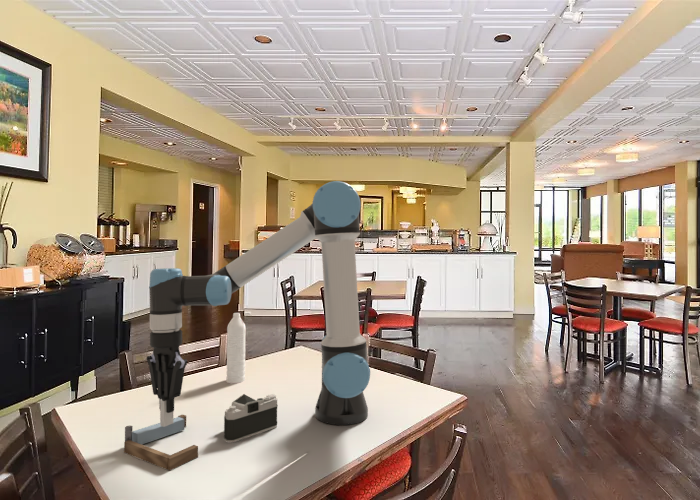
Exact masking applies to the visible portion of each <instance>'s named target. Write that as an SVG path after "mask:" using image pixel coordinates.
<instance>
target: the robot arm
mask: <svg viewBox="0 0 700 500" xmlns="http://www.w3.org/2000/svg"><path fill="white" fill-rule="evenodd" d="M361 205H362V204H361V198H360V196H359V194H358V192H357V191H356V189H355V188H354V187H353V186H352V185H350V184H348V183H347V182H344V181H339V180H335V181H329V182H327V183H324V184H323V185H321V186H320V187H319V188H318V189H317V190H316V192H315V193H314V195H313V199H312V203H311V204H310V205H309V206H308V207H307V208H304V209H303V210H301V212H300V216H299V217H298V218H296V219H295V220H293V221H291V222H290V223H288V224H287V225H286V226H284V227H282V228H281V229H280V230H278V231H276V232H274V234H272V235H270V236H269V237H267V238H265V239H264V240H263V241H261V242H260V243H258V244H257V245H255V246H254V247H252V248H250V249H249V250H247V251H246V252H244V253H243V254H241V255H240V256H238V257H237V258H235V259H233V260H232V261H231V262H229V263H227V265H225V266H223V267H221V268H220V269H218V270H217V271H214V272H213V273H212V274H207V275H183V271H182V269H181V268H177V267H176V268H173V267H172V268H171V267H170V268H168V267H167V268H154V269H152V270H151V271H150V274H149V286H148V289H149V329H150V331H151V332H150V333H149V346H150V347H151V348H153V350H152V354H150V355H147V356H146V361H147V365H148V368H149V375H150V382H151V387H152V388H151V389H152V394H153V395H154V396H157V399H158V400H159V403H158V404H159V405H158V406H159V412H160V413H159V414H160V415H159V417H160V418H159V419H160V421H159V423H160V426H163V427H165V426H168V425H170V424H173V418H174V412H175V399H176V398H177V397H180V396H181V393H182V387H183V381H184V375H185V368H186V367H187V364H188V360H187V359H186V358H185V359H183V358H182V357H181V352H180V346H181V345H182V344H183V330H182V327H183V307H188V306H190V307H191V306H213V307H217V306H225V305H229V303H230V302H231V299H232V294H234V293H235V292H236V291H238V290H239V289H241V288H242V287H244V286H245V285H247V284H248V283H250V282H252V281H253V280H255V279H256V278H258V277H259V276H260V275H262V274H264V273H265V272H267V271H269V270H270V269H272V267H274V266H276V265H277V264H279V263H280V262H282V261H283V260H284V259H287V258H288V257H289V256H291V255H292V254H294V253H295V252H297V251H298V250H301V248H303V247H305V246H306V245H308V244H309V243H310V242H313V241H314V240H318V241H319V242H320V243H321V257H322V258H321V260H322V277H323V293H324V311H325V327H326V328H325V331H326V332H325V333H326V335H324V336H323V337H322V340H321V342H320V345H321V390H320V392H319V396H318V399H317V401H316V404H315V408H314V415H315V418H316V419H317V420H318V421H320V422H322V423H325V424H330V425H337V426H338V425H340V426H342V425H343V426H345V425H355V424H358V423H361V422H363V421H365V420H366V419H367V418H368V416H369V408H368V403H367V401H366V398H365V394H364V391H365V390H366V388H367V387H368V385H369V383H370V379H371V368H370V365H369V362H368V351H367V349H368V348H367V347H368V346H367V339H366V338H365V337H364V336H363V335H362V333H361V331H360V329H361V328H360V327H361V326H360V313H359V312H360V310H359V297H358V296H359V293H358V277H357V275H358V274H357V262H356V261H357V260H356V259H357V258H356V244H355V242H356V239H357V238H358V237H359V236H360V235H361V228H360V226H361V225H360V224H361V223H360V212H361V207H362V206H361Z"/></svg>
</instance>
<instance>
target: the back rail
mask: <svg viewBox="0 0 700 500" xmlns="http://www.w3.org/2000/svg"><path fill="white" fill-rule="evenodd" d="M123 442H124V443H123V446H124V447H123V449H124V450H123V453H125V454H127V455H129V456H132V457H133V458H136V459H139V460H142V461H144V462H147V463H148V464H152V465H154V466H157V467H159V468H162V469H165V470H166V471H167V470H168V458H167V456H170V455H171V454H168V453H166V452H163V451H160V450H158V449H154V448H152V447H149V446H146V445H144V444H142V445H141V444H139V443H136V442H133V441H131V440H128V441H125V440H124V441H123ZM168 471H169V470H168Z"/></svg>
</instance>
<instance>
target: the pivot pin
mask: <svg viewBox="0 0 700 500" xmlns="http://www.w3.org/2000/svg"><path fill="white" fill-rule="evenodd" d="M132 431H133V425H126V426H124V442H125V441H128V440H131V441H132Z"/></svg>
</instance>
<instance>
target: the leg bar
mask: <svg viewBox="0 0 700 500" xmlns="http://www.w3.org/2000/svg"><path fill="white" fill-rule="evenodd" d="M181 431H185V428H184V419H183V418H180V417H178V416H177V417H173V424H170V425H168V426H165V427H163V426H160V422H157V423H155V424H152V425H148V426H145V427H142V428H140V429H139V428H138V429H136V430H132V441H133V442H136V443H139V444H141V445H144V444H148V443H150V442H153V441H156V440H159V439H161V438H164V437H168V436H170V435H174V434H176V433H180V432H181Z"/></svg>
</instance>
